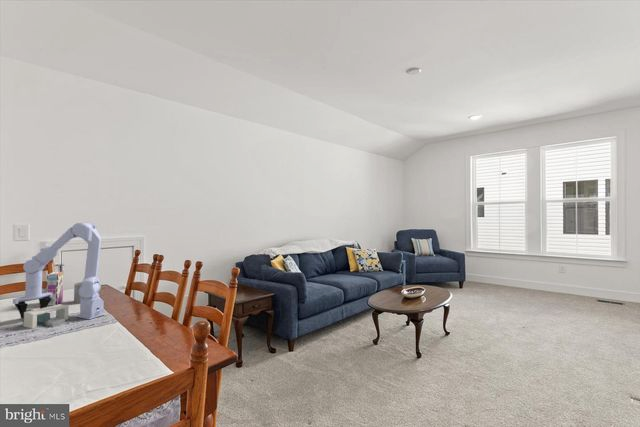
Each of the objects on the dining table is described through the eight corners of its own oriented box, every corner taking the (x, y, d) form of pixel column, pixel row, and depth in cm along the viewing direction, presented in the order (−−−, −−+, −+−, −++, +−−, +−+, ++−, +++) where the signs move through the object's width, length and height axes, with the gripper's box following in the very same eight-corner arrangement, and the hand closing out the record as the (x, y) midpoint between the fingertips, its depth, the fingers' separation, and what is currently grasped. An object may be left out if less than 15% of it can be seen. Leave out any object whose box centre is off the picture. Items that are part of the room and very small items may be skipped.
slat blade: (49, 322, 149) (50, 313, 149) (44, 323, 147) (44, 314, 147) (28, 317, 154) (29, 309, 154) (23, 319, 152) (23, 310, 152)
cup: (85, 303, 178) (85, 285, 178) (70, 303, 178) (70, 284, 179) (96, 299, 187) (96, 281, 187) (81, 299, 187) (82, 281, 187)
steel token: (64, 324, 147) (65, 318, 147) (52, 327, 142) (52, 321, 142) (57, 322, 148) (57, 317, 148) (44, 326, 144) (44, 320, 144)
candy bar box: (57, 305, 173) (58, 274, 173) (45, 306, 171) (46, 274, 171) (63, 300, 183) (64, 270, 184) (52, 301, 181) (52, 271, 182)
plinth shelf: (68, 318, 153) (68, 305, 153) (32, 328, 139) (32, 313, 139) (59, 317, 155) (59, 304, 155) (23, 326, 142) (24, 312, 142)
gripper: (46, 282, 160) (45, 310, 159) (8, 288, 146) (8, 319, 146) (55, 283, 157) (55, 312, 157) (18, 289, 144) (18, 321, 143)
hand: (33, 316), depth 151 cm, fingers open, 7 cm apart
